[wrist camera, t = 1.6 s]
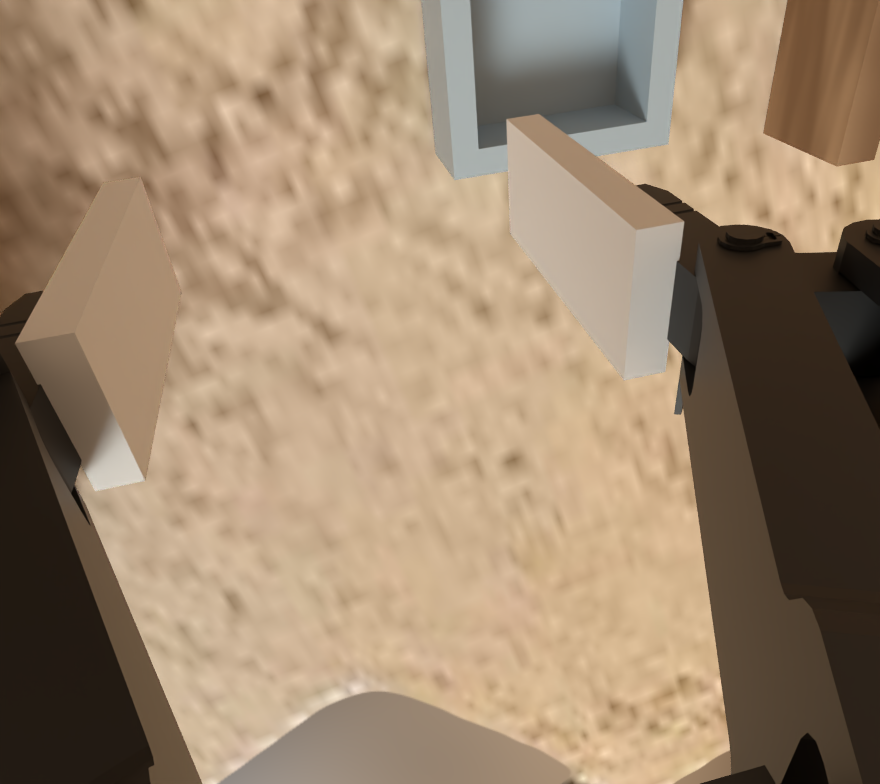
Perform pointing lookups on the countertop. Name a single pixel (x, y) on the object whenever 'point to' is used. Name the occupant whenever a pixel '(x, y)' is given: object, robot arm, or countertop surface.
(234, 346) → the countertop surface
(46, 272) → the countertop surface
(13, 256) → the countertop surface
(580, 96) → the blue gray square tray
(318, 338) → the countertop surface
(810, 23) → the base
